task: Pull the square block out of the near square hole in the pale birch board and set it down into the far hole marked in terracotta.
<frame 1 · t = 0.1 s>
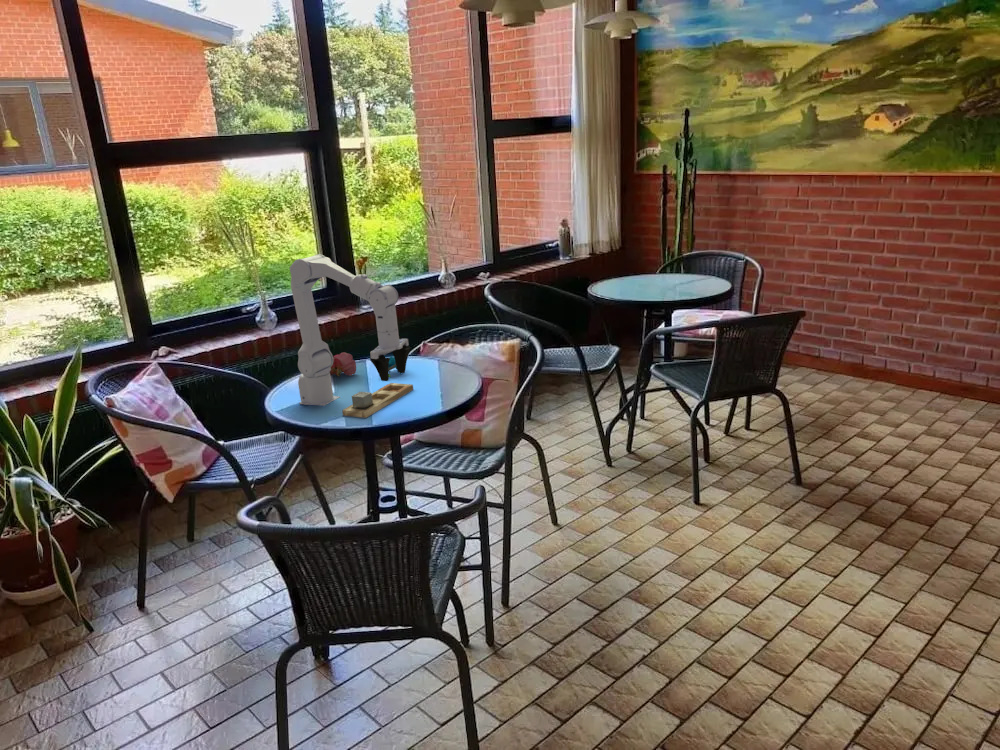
hand: (393, 376, 210), 10 cm above the table, tool pointing down, fingers open, 7 cm apart
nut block: (363, 410, 212), resting on hole board
teal toy dinosaur: (393, 374, 248), on the table
flower: (339, 377, 249), on the table
hole board: (379, 403, 219), on the table
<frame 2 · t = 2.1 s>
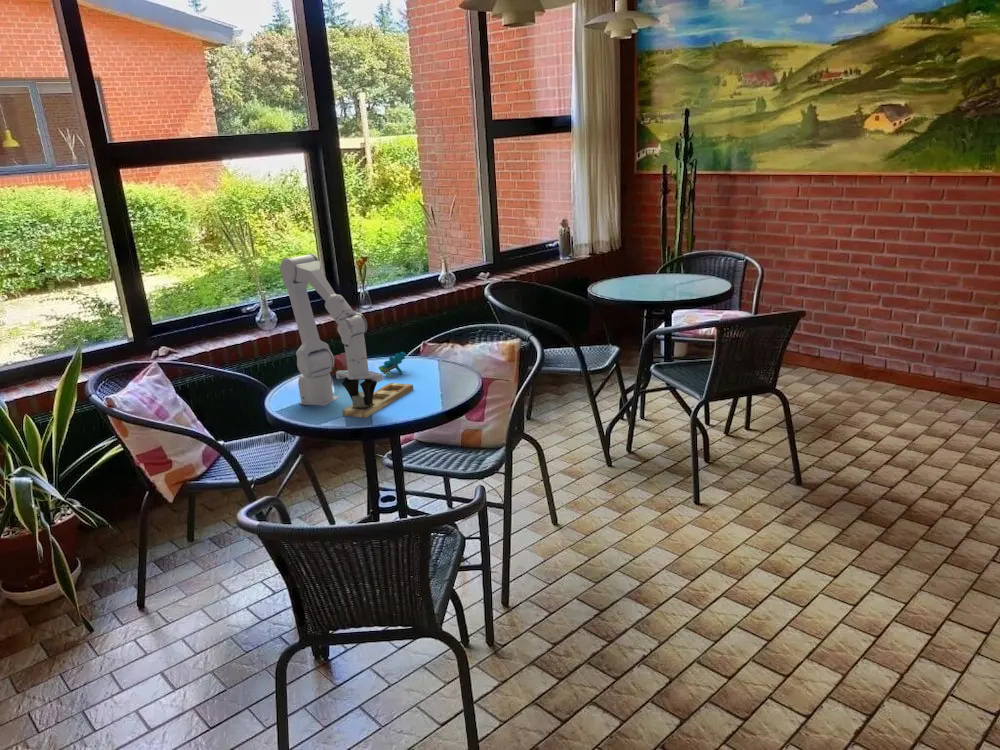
hand: (362, 403, 211), 3 cm above the table, tool pointing down, fingers closed on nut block, 4 cm apart
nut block: (363, 410, 212), resting on hole board, touching gripper
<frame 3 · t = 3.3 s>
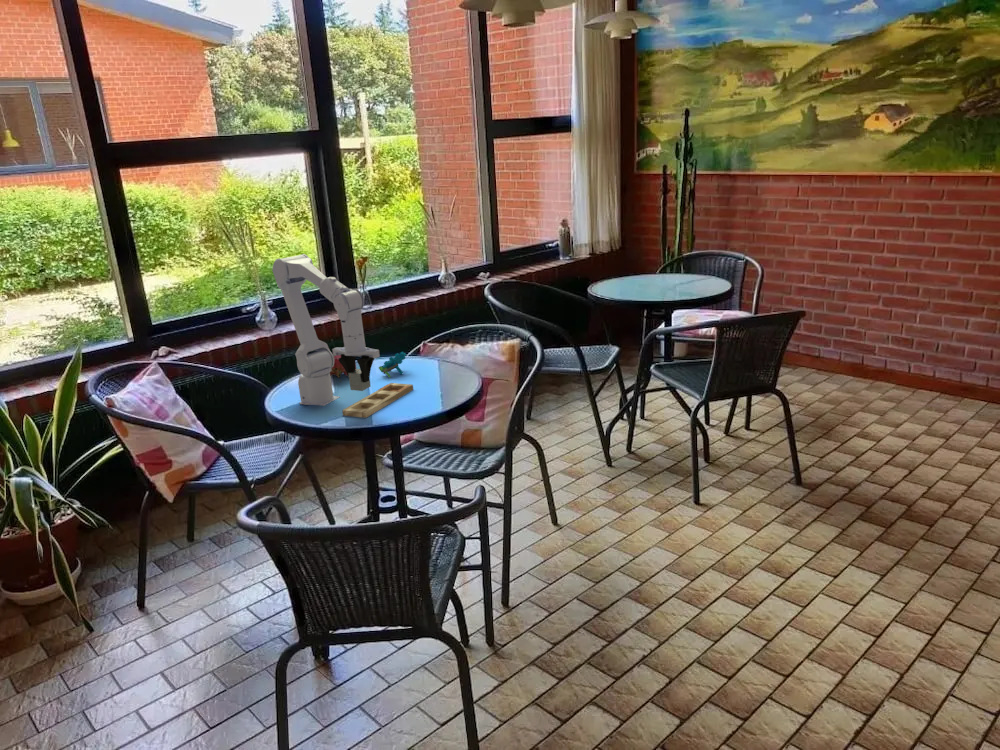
hand: (359, 380, 209), 10 cm above the table, tool pointing down, fingers closed on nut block, 4 cm apart
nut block: (360, 388, 210), point 7 cm above the table, touching gripper
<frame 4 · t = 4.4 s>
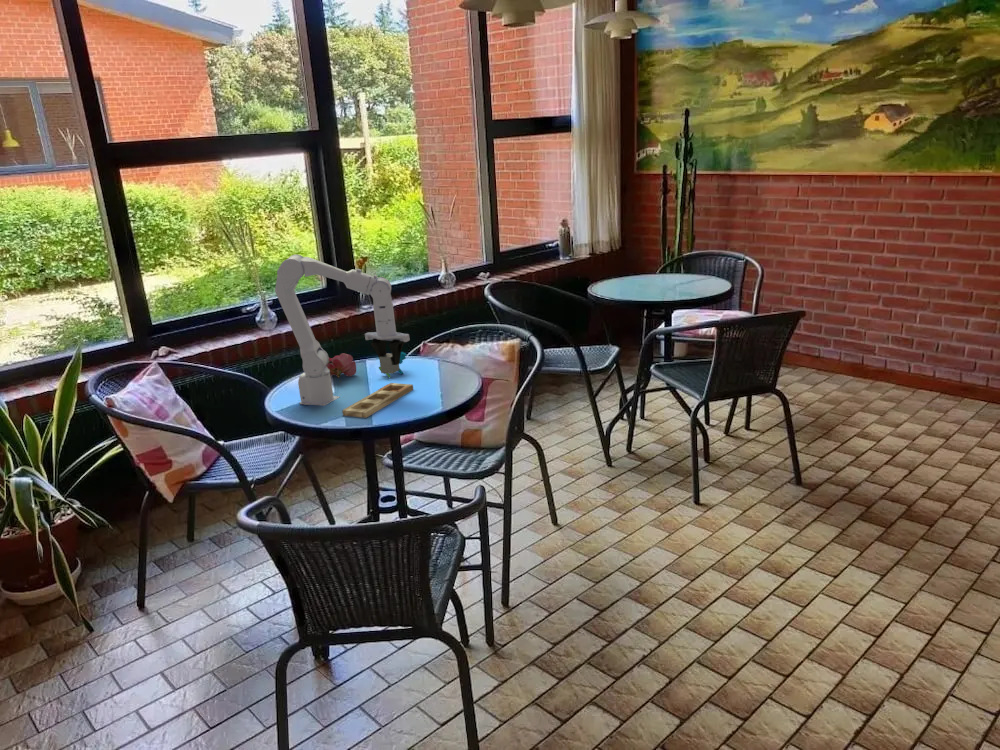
hand: (390, 363, 222), 10 cm above the table, tool pointing down, fingers closed on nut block, 4 cm apart
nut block: (390, 371, 223), point 8 cm above the table, touching gripper
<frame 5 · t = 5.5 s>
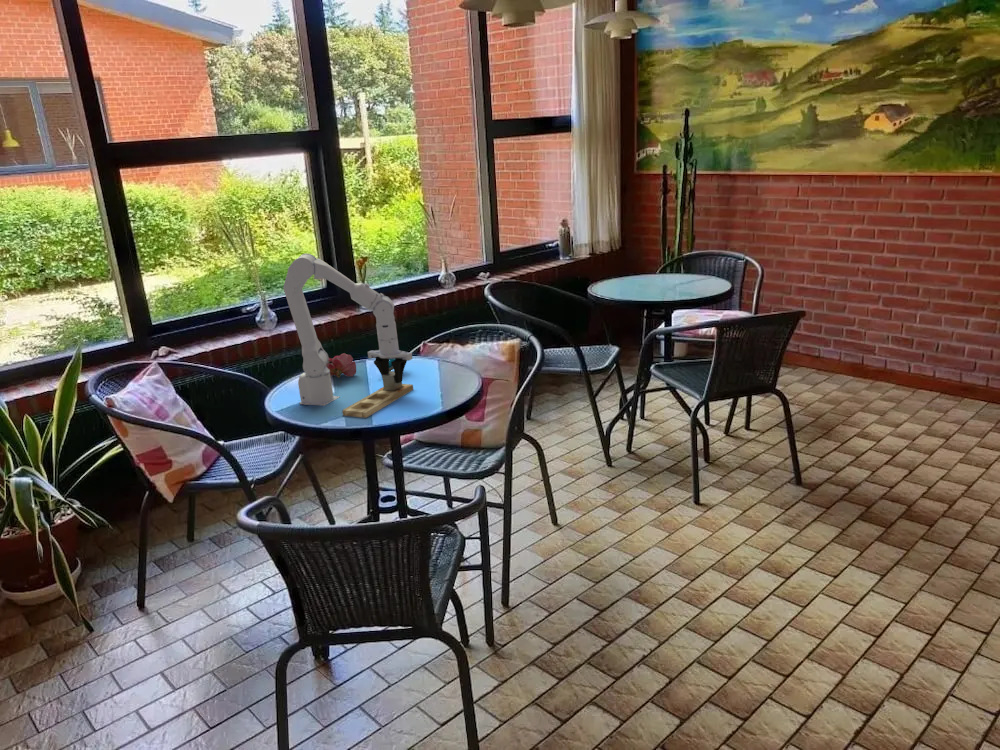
hand: (393, 381, 224), 4 cm above the table, tool pointing down, fingers closed on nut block, 4 cm apart
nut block: (393, 389, 225), point 2 cm above the table, touching gripper
when the fingers open (3 cm above the table, at t = 6.5 s): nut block stays where it is, resting on hole board.
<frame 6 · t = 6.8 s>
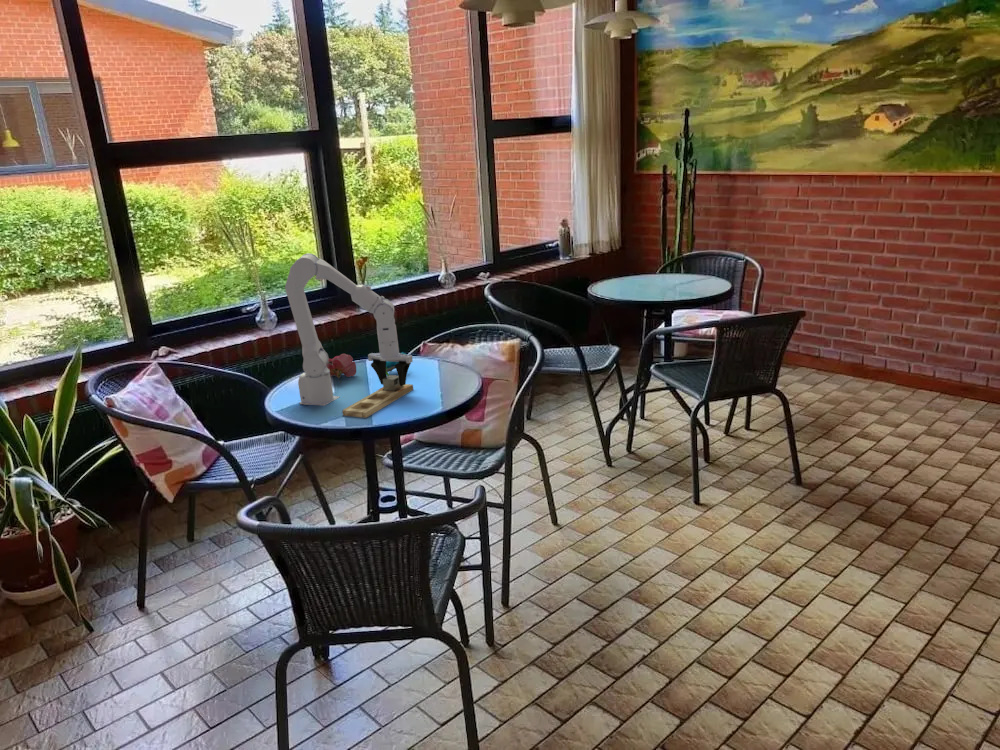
hand: (393, 384, 225), 3 cm above the table, tool pointing down, fingers open, 6 cm apart
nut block: (393, 393, 225), point 1 cm above the table, touching hole board
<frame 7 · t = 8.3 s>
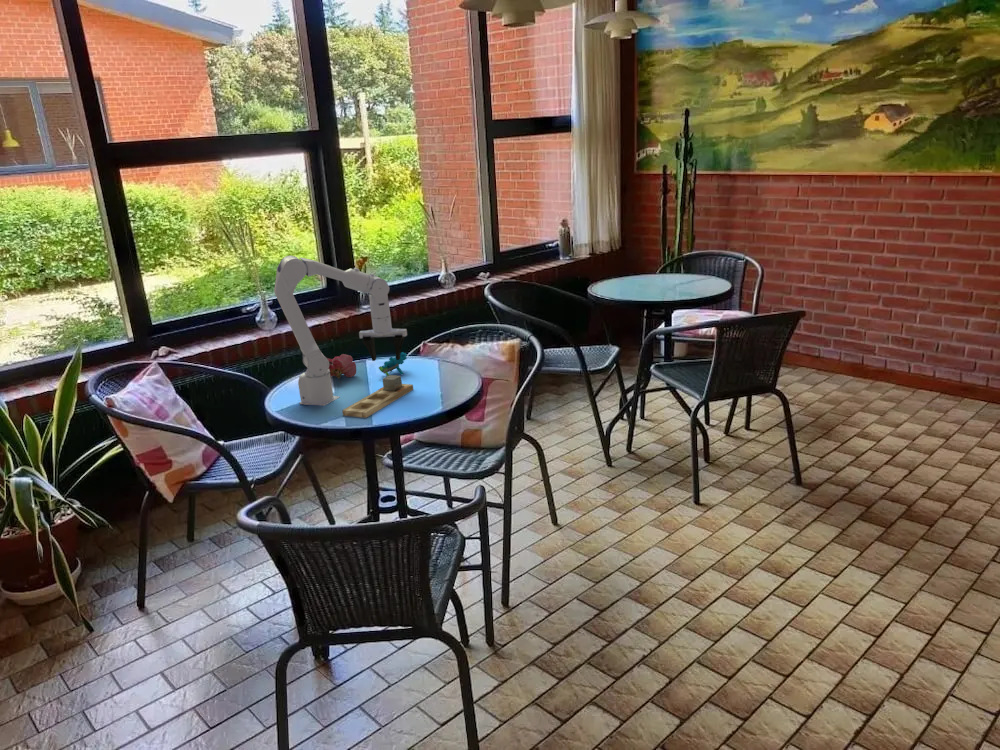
hand: (386, 359, 229), 9 cm above the table, tool pointing down, fingers open, 7 cm apart
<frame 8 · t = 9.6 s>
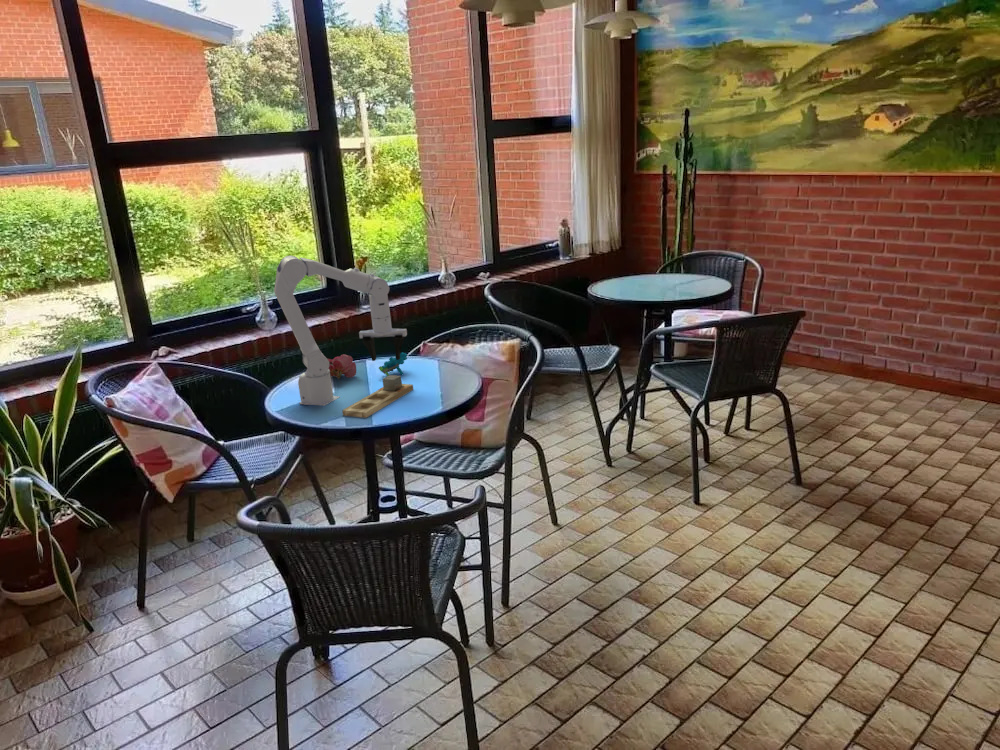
hand: (386, 359, 229), 9 cm above the table, tool pointing down, fingers open, 7 cm apart
at the end: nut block 0.4 cm from the target spot on the hole board, point 0.6 cm above the hole board's base; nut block tilted 0°; the gripper is holding nothing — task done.
